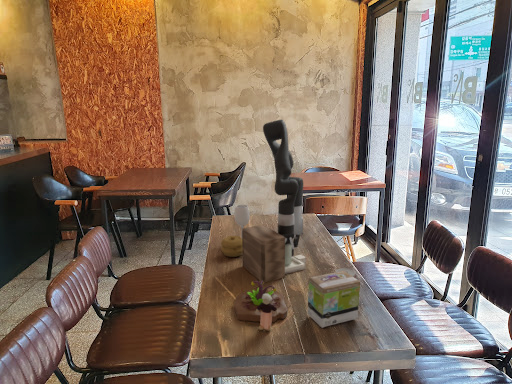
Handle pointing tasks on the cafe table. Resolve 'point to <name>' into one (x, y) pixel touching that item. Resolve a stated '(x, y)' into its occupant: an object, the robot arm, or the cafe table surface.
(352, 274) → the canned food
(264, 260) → the wood grain block
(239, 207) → the wineglass
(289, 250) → the pale green rounded cylinder
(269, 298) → the grandmother figurine
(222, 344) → the cafe table surface
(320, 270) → the cafe table surface
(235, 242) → the pot
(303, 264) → the tray
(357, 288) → the tea box
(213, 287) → the cafe table surface
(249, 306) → the plant
